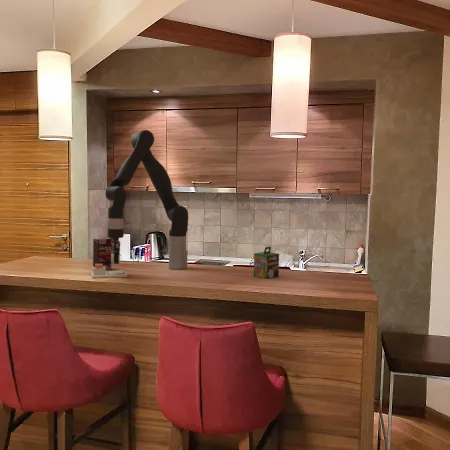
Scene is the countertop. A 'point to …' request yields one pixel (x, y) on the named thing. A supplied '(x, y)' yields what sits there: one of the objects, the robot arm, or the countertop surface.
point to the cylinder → (113, 258)
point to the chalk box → (266, 264)
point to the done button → (98, 265)
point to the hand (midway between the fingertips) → (115, 262)
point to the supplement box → (102, 252)
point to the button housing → (99, 271)
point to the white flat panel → (110, 274)
